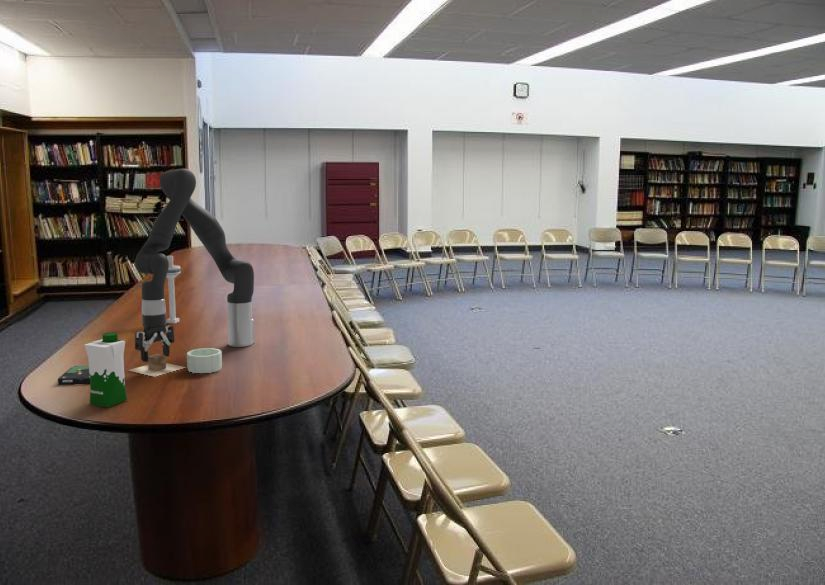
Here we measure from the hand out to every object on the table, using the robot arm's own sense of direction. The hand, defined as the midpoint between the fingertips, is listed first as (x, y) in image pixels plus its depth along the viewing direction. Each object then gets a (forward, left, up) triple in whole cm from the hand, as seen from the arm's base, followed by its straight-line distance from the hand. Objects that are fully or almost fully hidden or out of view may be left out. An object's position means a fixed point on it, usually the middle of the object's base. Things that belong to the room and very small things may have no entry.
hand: (155, 358), depth 226 cm
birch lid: (0, 0, -5) cm, 5 cm away
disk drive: (+19, -13, -5) cm, 23 cm away
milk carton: (+30, +15, -4) cm, 34 cm away
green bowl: (-9, +13, -4) cm, 17 cm away
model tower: (-54, -54, -4) cm, 76 cm away
